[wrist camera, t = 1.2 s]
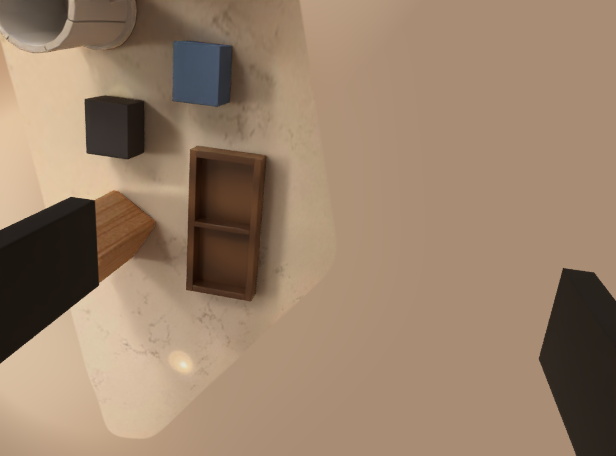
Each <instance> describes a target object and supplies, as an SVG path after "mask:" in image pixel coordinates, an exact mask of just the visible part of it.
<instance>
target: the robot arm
mask: <svg viewBox="0 0 616 456" xmlns="http://www.w3.org/2000/svg"><path fill="white" fill-rule="evenodd" d="M98 286H99V271H98V251H97V230H96V209H95V200H89V199H82V198H75V197H70V198H68V199H66V200H63V201H61V202H59V203H57V204H55V205H53V206H51V207H49V208H46V209H44V210H42V211H40V212H38V213H36V214H34V215H31V216H29V217H27V218H25V219H23V220H21V221H19V222H17V223H15V224H12V225H10V226H8V227H6V228H4V229H2V230H0V363H1V362H3V361H4V360H5V359H6V358H8V357H9V356H10V355H12V354H13V353H14V352H15V351H17V350H18V349H19V348H20V347H22V346H23V345H24V344H26V343H27V342H28V341H29V340H30V339H32V338H33V337H34V336H36V335H37V334H38V333H39V332H41V331H42V330H43V329H44V328H46V327H47V326H48V325H50V324H51V323H52V322H53V321H55V320H56V319H57V318H58V317H60V316H61V315H62V314H63V313H65V312H66V311H67V310H68V309H70V308H71V307H72V306H74V305H75V304H76V303H77V302H79V301H80V300H81V299H82V298H84V297H85V296H86V295H87V294H89V293H90V292H91V291H92V290H94V289H95V288H96V287H98ZM539 361H540V363H541V366H542V368H543V371H544V374H545V376H546V379H547V381H548V384H549V386H550V389H551V391H552V394H553V397H554V399H555V402H556V404H557V407H558V410H559V412H560V415H561V417H562V420H563V422H564V425H565V428H566V430H567V433H568V435H569V438H570V440H571V443H572V446H573V448H574V451H575V453H576V456H616V301H615V299H614V298H613V297H612V295H611V294H610V293H609V291H608V290H607V289H606V288H605V286H604V285H603V284H602V282H601V281H600V280H599V279H598V277H597V276H596V274H595V273H593V272H586V271H579V270H573V269H566V268H563V271H562V274H561V278H560V282H559V285H558V289H557V293H556V296H555V300H554V304H553V308H552V311H551V315H550V319H549V323H548V326H547V330H546V334H545V338H544V342H543V345H542V349H541V352H540V356H539Z"/></svg>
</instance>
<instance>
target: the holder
mask: <svg viewBox="0 0 616 456" xmlns="http://www.w3.org/2000/svg"><path fill="white" fill-rule="evenodd" d="M265 168H266V155H259V154H252V153H245V152H237V151H230V150H223V149H216V148H209V147H202V146H196V147H194V148H192V149H190V173H189V209H188V245H187V281H186V290H190V291H196V292H201V293H207V294H212V295H218V296H224V297H229V298H235V299H240V300H246V301H252V299H253V297H254V296H255V294H256V286H257V273H258V260H259V247H260V234H261V221H262V208H263V195H264V182H265Z"/></svg>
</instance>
